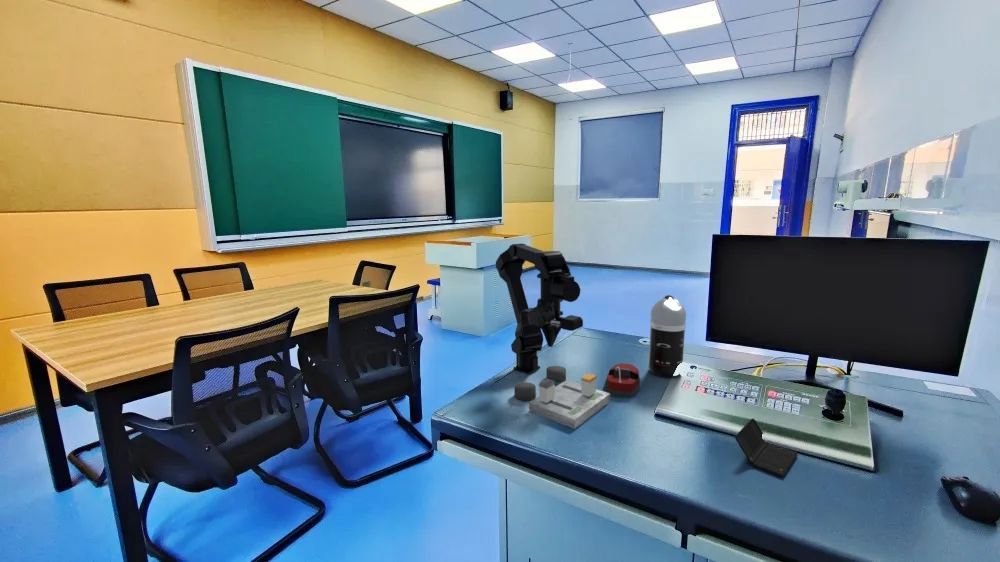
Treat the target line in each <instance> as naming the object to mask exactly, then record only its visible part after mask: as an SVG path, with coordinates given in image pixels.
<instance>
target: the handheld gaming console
mask: <svg viewBox="0 0 1000 562" xmlns="http://www.w3.org/2000/svg"><path fill="white" fill-rule="evenodd" d="M762 434H764V432H763V431H762V429H761V428H760V426H759V424H758V423H757V421H756V420H755V418H750V420H749V421H748V422H747V423H746V424H745V425H744V426H743V427H742V428H741V429H740V430H739V431H738V432H737V433H736V434H735V436H734V438H735V439H734V440H736V442H737V444H738V445H739V447H740V449H741V451H742V452H743V454H744V455H745V457H746V459H747V460H748V462H749V467H752V468H755V469H757V470H759V471H763V472H766V473H767V474H769V475H773V476H775V477H778V478H780V479H783V478H784V477H785V476H786V473H787V472H788V471H789V469H790V468H791V466H792V465H791V464H793V463H794V462H793V461H795V460H796V458H797V457H796V456H798V452H797V451H794V450H791V449H790V448H789V449H788V448H786V447H783V446H780V445H778V444H775V445H773V444H774V443H772V444H769V443H768V442H765V441H764V440H763V439H762ZM777 445H778V446H777ZM795 457H796V458H795ZM794 459H795V460H794ZM792 462H793V463H792ZM789 467H790V468H789ZM784 475H785V476H784Z"/></svg>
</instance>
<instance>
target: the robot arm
mask: <svg viewBox="0 0 1000 562" xmlns="http://www.w3.org/2000/svg"><path fill="white" fill-rule="evenodd" d="M526 262H527V263H531V264H532V265H534V268H535V270H537V271H539V273H538V274H537V275H536V277H537V278H538V279H539V280H540V282H539V283H540V298H538V299H537V304H536V306H535V307H529V305H528V300H527V296H526V294H525V289H524V287H523V283H522V279H521V278H522V275H523V265H524V264H525V263H526ZM495 269H496V271H497V273H498V275H499V278H501V279H502V280H503V282H505V284H506V287H507V290H508V295H509V298H510V301H511V302H510V303H511V306H512V309H513V313H514V316H515V321H516V323H517V325H516V328H515V331H514V336H515V339H514V340H513V342H512V343H511V345H510V348H511V351H512V352H513V353H514V354H516V355H515V359H516V364H515V365H516V366H514V367H513V370H515V371H518V372H521V373H525V374H529V375H530V374H531V373H533V372H535V371H537V370H539V369H540V368H541V366H540V365H539V356H538V352H541V351H542V349H543V344H544V340H545V341H546V344H547V347H548V348H552V347H553V346H554V343H556V342H555V341H556V340H557V337H558V335H559V333H560V332H561V330H566V331H571V332H573V331H576V330H578V329H580V328H582V327H584V320H583V318H582V317H581V316H578V315H574V314H573V315H572V314H570V315H567V316H565V317H563V315H564V311H563V310H562V311H561V302H563V301H565V302H568V303H573V302H575V301H577V300H578V299H579V297H580V295H581V287H580V285H579V283H578V282H577V281H575V276H573V275H572V273H571V269H570V267H569V266H568V263H567V261H566V258H565V257H564V255H563V252H561V251H560V250H541V249H538V248H535V247H532V246H530V245H527V244H526V243H513V244H510V245H509V247H508V248H507V249H506V250H504V251H503V252H501V254H499V256H498V257H497V259H496V261H495Z"/></svg>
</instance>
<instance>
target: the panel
mask: <svg viewBox="0 0 1000 562" xmlns="http://www.w3.org/2000/svg"><path fill="white" fill-rule="evenodd" d="M609 403H611V395H610V393H607V392H605V391H602V390H600V389H597V388H596V392H595V393H594V394H592V395H591V396H590V397H588V396H585V395H582V394H581V384H580V383H577V382H574V381H571V380H567V379H566V381H564V382H562V383H558V385H555V398H554V399H553V400H551V401H549V402H548V403H545V402H542V401H540V400H539V396H536V398H535V399H534V400H532V401H528V412H530V413H533V414H534V415H535V414H536V415H538V416H540V417H542V418H545V419H548V420H551V421H553V422H555V423H557V424H561V425H563V426H566V427H569V428H571V429H573V430H576V429H577V428H578V427H579V426H581V425H582V424H584V422H586V421H588V420H589V419H590V418H591V417H592V416H594V415H596V413H598V412H599V411H600V410H602V409H603V408H605V406H607V405H608V404H609Z"/></svg>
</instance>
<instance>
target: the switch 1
mask: <svg viewBox="0 0 1000 562" xmlns="http://www.w3.org/2000/svg"><path fill="white" fill-rule="evenodd" d="M555 387H556V383H555V381H553V380H550V379H547V378H546V379H545V380H543V381H540V382H539V383H538V388H539V389H538V390H539V391H538V392H539V396H538V397H539V400H540V401H542V402H545V403H548V402H549V401H551V400H553V399H554V398H555Z"/></svg>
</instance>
